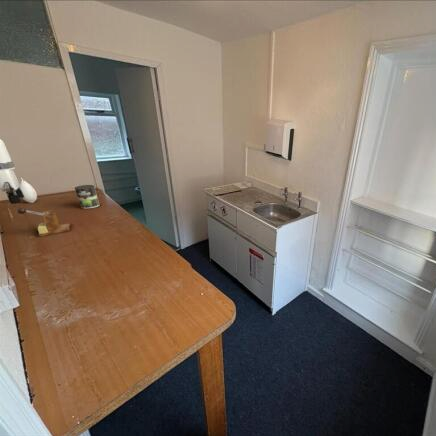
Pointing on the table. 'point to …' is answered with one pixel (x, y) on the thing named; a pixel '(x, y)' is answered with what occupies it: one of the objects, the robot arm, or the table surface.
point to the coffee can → (87, 196)
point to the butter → (42, 229)
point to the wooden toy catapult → (53, 224)
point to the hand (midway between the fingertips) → (18, 200)
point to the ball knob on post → (23, 210)
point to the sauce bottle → (28, 192)
